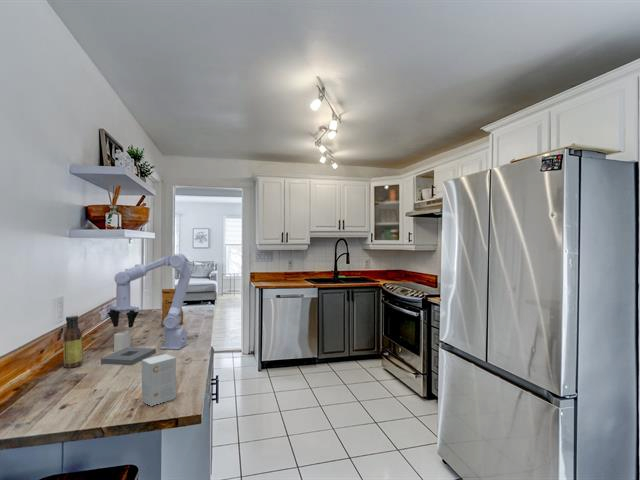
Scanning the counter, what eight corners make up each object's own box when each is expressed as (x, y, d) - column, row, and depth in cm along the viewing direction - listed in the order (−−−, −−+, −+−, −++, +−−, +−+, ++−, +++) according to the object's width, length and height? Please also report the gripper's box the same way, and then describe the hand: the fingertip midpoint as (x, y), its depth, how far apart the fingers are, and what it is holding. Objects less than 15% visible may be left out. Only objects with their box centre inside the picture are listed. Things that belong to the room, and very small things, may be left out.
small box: (166, 393, 116) (166, 353, 117) (176, 398, 112) (176, 357, 112) (141, 401, 110) (141, 359, 110) (150, 407, 106) (150, 363, 106)
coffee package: (182, 326, 212) (182, 289, 212) (159, 327, 209) (159, 289, 209) (184, 322, 222) (184, 287, 222) (162, 323, 218) (162, 287, 219)
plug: (130, 348, 166) (130, 331, 166) (122, 352, 161) (122, 334, 161) (122, 348, 167) (122, 331, 167) (114, 351, 161) (114, 334, 162)
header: (155, 353, 159) (155, 348, 159) (131, 365, 143) (131, 360, 143) (127, 351, 161) (127, 347, 161) (100, 363, 146) (100, 358, 146)
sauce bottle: (86, 364, 145) (86, 315, 145) (71, 369, 139) (71, 318, 139) (74, 362, 147) (74, 314, 147) (59, 367, 141) (59, 317, 141)
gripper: (102, 298, 162) (102, 328, 162) (131, 299, 160) (131, 329, 160) (113, 296, 169) (113, 324, 169) (141, 296, 167) (141, 325, 167)
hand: (123, 326), depth 165 cm, fingers open, 7 cm apart
